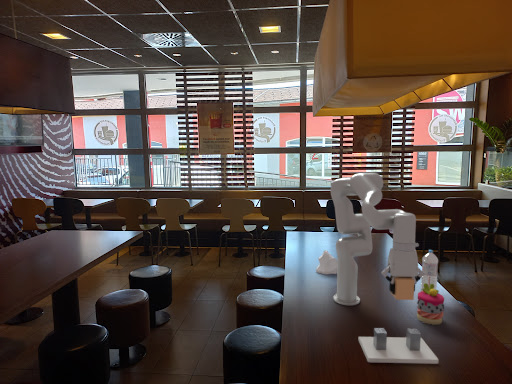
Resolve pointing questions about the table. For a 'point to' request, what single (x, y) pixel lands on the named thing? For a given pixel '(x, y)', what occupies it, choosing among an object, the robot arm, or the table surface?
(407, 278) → the block
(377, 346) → the post
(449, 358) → the table surface
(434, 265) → the water bottle
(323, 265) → the soft serve ice cream
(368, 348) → the board
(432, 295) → the cake
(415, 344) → the post
